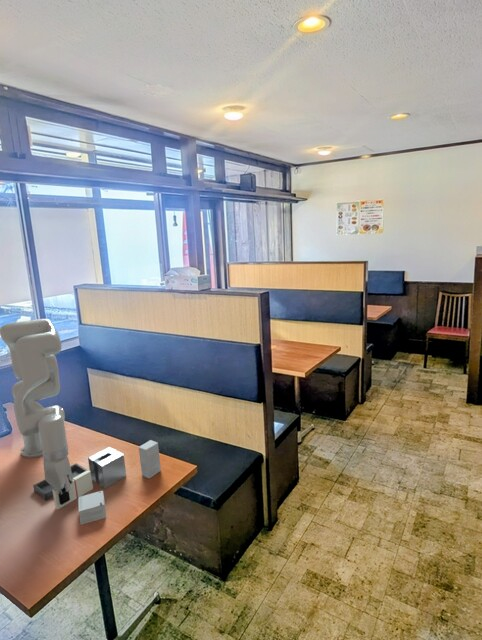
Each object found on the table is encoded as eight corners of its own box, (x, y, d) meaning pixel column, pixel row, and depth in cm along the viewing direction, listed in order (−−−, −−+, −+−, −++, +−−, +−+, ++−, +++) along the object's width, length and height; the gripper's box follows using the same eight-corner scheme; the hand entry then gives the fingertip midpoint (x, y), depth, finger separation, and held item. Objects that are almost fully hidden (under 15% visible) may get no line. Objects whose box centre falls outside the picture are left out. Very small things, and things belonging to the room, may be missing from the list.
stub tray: (34, 491, 139) (33, 485, 139) (77, 468, 152) (76, 463, 151) (45, 500, 134) (44, 494, 134) (89, 476, 147) (88, 470, 146)
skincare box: (153, 467, 151) (150, 439, 148) (161, 471, 148) (158, 442, 146) (141, 475, 146) (138, 446, 143) (149, 479, 144) (146, 450, 141)
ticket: (55, 507, 130) (52, 489, 129) (90, 487, 140) (88, 469, 139) (57, 509, 129) (54, 491, 128) (93, 488, 139) (90, 471, 138)
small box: (80, 509, 129) (78, 496, 128) (105, 503, 132) (103, 489, 131) (80, 525, 122) (78, 511, 121) (106, 518, 125) (104, 504, 124)
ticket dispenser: (91, 479, 145) (88, 457, 143) (112, 467, 152) (109, 446, 150) (105, 488, 139) (102, 466, 137) (126, 475, 146) (123, 454, 144)
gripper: (32, 449, 129) (41, 498, 133) (56, 465, 120) (64, 517, 124) (54, 439, 135) (62, 486, 139) (79, 454, 126) (86, 503, 130)
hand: (63, 500), depth 132 cm, fingers closed on ticket, 1 cm apart
